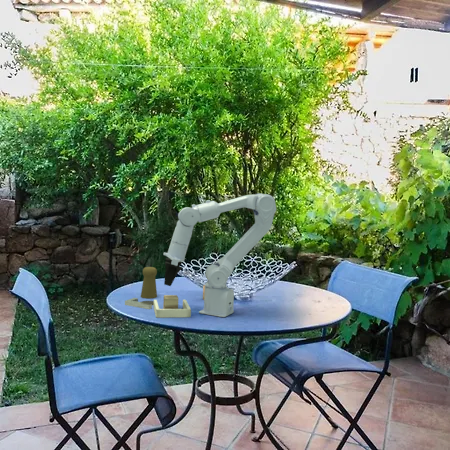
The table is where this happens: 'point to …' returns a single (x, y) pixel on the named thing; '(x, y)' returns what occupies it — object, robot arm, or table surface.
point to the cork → (149, 283)
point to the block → (170, 302)
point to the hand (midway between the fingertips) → (167, 282)
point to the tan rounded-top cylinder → (203, 291)
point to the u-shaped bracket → (172, 311)
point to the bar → (137, 303)
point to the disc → (148, 302)
